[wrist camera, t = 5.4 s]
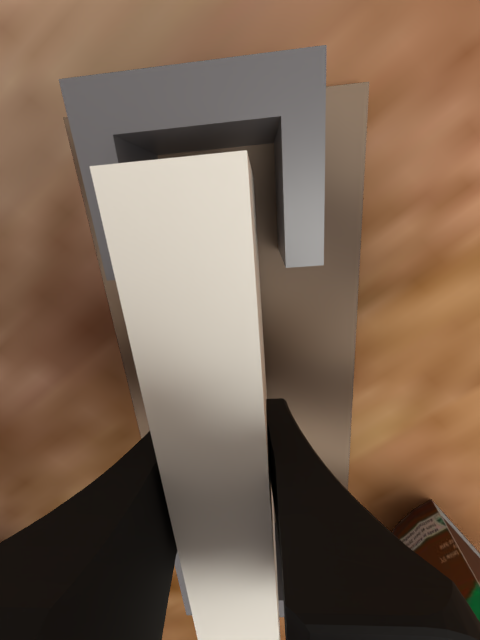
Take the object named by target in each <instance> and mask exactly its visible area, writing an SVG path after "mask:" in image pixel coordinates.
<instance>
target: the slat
mask: <svg viewBox="0 0 480 640" xmlns="http://www.w3.org/2000/svg"><path fill="white" fill-rule="evenodd" d="M89 167H90V171H91V175H92V180H93V184H94V188H95V193H96V197H97V202H98V206H99V210H100V215H101V219H102V223H103V228H104V232H105V236H106V241H107V245H108V249H109V254H110V258H111V263H112V267H113V271H114V276H115V280H116V284H117V289H118V293H119V297H120V302H121V306H122V311H123V315H124V319H125V324H126V328H127V332H128V337H129V341H130V345H131V350H132V354H133V359H134V363H135V367H136V372H137V376H138V380H139V385H140V389H141V393H142V398H143V402H144V406H145V411H146V415H147V420H148V424H149V428H150V433H151V437H152V441H153V446H154V450H155V454H156V459H157V463H158V468H159V472H160V476H161V481H162V485H163V489H164V494H165V498H166V502H167V507H168V511H169V515H170V520H171V524H172V529H173V533H174V537H175V542H176V546H177V550H178V555H179V559H180V563H181V568H182V572H183V577H184V581H185V585H186V590H187V594H188V598H189V603H190V607H191V611H192V616H193V620H194V625H195V629H196V633H197V638H198V640H280V623H279V602H278V582H277V561H276V541H275V520H274V504H273V495H272V488H271V478H270V462H269V447H268V431H267V415H266V399H267V390H266V374H265V358H264V341H263V325H262V309H261V293H260V276H259V260H258V244H257V227H256V211H255V195H254V179H253V174H252V169H251V165H250V161H249V157H248V153H247V150H244V151H234V152H224V153H214V154H205V155H195V156H185V157H175V158H165V159H156V160H146V161H136V162H126V163H117V164H107V165H97V166H89Z"/></svg>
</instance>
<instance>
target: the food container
mask: <svg viewBox="0 0 480 640" xmlns="http://www.w3.org/2000/svg"><path fill="white" fill-rule="evenodd" d="M392 533H393V534H394V535H395V536H396V537H397V538H398V539H400V540H401V541H402V542H403V543H404V544H405V545H407V546H408V547H409V548H410V549H411V550H413V551H414V552H415V553H417V554H418V555H419V556H420V557H422V558H423V559H424V560H426V561H427V562H428V563H430V564H431V565H432V566H434V567H435V568H436V569H438V570H439V571H440V572H441V573H443V574H444V575H445V576H447V577H448V578H449V579H451V580H452V581H453V582H454V583H455V585H456V586H457V588H458V589H459V591H460V592H461V594H462V595H463V597H464V598H465V600H466V601H467V603H468V604H469V606H470V607H471V609H472V610H473V612H474V614H475V615H476V617H477V618H478V620H479V621H480V553H479V552H478V551H477V550H476V548H475V547H474V546H473V545H472V544H471V543H470V542H469V541H468V540H467V538H466V537H465V536H464V535H463V534H462V533H461V532H460V531H459V530H458V528H457V527H456V526H455V525H454V524H453V523H452V522H451V521H450V520H449V518H448V517H447V516H446V515H445V514H444V513H443V512H442V511H441V509H440V508H439V507H438V506H437V505H436V504H435V503H434V502H433V501H432V499H431V500H430V501H428V502H426V503H424V504H422V505H421V506H419V507H417V508H415V509H414V510H412V511H411V512H410V513H409V514H408V515H407V516H406V517H405V518H404V519H403V520H402V521H401V522H400V523H398V524H397V525H396V526H395V528H394V530H393V532H392Z"/></svg>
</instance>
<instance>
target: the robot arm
mask: <svg viewBox="0 0 480 640" xmlns="http://www.w3.org/2000/svg"><path fill="white" fill-rule="evenodd" d="M266 415H267V431H268V447H269V462H270V478H271V488H272V495H273V503H274V510H275V517H276V524H277V531H278V539H279V546H280V556H281V569H282V586H283V602H284V619H285V635H286V640H480V621H479V620H478V618H477V617H476V615H475V614H474V612H473V610H472V609H471V607H470V606H469V604H468V603H467V601H466V600H465V598H464V597H463V595H462V594H461V592H460V591H459V589H458V588H457V586H456V585H455V583H454V582H453V581H452V580H451V579H449V578H448V577H447V576H445V575H444V574H443V573H441V572H440V571H439V570H438V569H436V568H435V567H434V566H432V565H431V564H430V563H428V562H427V561H426V560H424V559H423V558H422V557H420V556H419V555H418V554H417V553H415V552H414V551H413V550H411V549H410V548H409V547H408V546H407V545H405V544H404V543H403V542H402V541H401V540H400V539H398V538H397V537H396V536H395V535H394V534H393V533H391V532H390V531H389V530H388V529H387V528H386V527H385V526H383V525H382V524H381V523H380V522H379V521H378V520H377V519H376V518H375V517H374V516H373V515H372V514H371V513H370V512H369V511H368V510H367V509H366V508H364V507H363V506H362V505H361V504H360V503H359V502H358V501H357V500H356V499H355V498H354V497H353V496H352V495H351V494H350V492H349V491H348V490H347V489H346V488H345V487H344V486H343V485H342V484H341V483H340V482H339V480H338V479H337V478H336V477H335V476H334V475H333V474H332V472H331V471H330V470H329V469H328V468H327V466H326V465H325V464H324V463H323V461H322V460H321V459H320V457H319V456H318V455H317V453H316V452H315V451H314V449H313V448H312V446H311V445H310V443H309V442H308V440H307V439H306V437H305V436H304V434H303V433H302V431H301V430H300V428H299V426H298V425H297V423H296V421H295V419H294V417H293V416H292V414H291V412H290V409H289V407H288V405H287V402H286V400H284V399H283V398H277V399H266ZM176 554H177V546H176V542H175V537H174V533H173V529H172V524H171V520H170V515H169V511H168V507H167V502H166V498H165V494H164V489H163V485H162V481H161V476H160V472H159V468H158V463H157V459H156V454H155V450H154V446H153V441H152V437H151V433H150V431H149V432H148V433H147V434H146V435H145V436H144V437H143V438H142V439H141V440H140V441H139V442H138V443H137V444H136V445H135V446H134V447H133V448H132V449H131V450H129V451H128V452H127V453H126V454H125V455H124V456H123V457H122V458H121V459H120V460H119V461H118V462H116V463H115V464H114V465H113V466H112V467H111V468H109V469H108V470H107V471H106V472H105V473H103V474H102V475H101V476H100V477H98V478H97V479H96V480H95V481H93V482H92V483H91V484H90V485H88V486H87V487H86V488H84V489H83V490H82V491H80V492H79V493H77V494H76V495H74V496H73V497H72V498H70V499H69V500H67V501H66V502H64V503H63V504H61V505H60V506H59V507H57V508H56V509H54V510H53V511H51V512H50V513H48V514H47V515H45V516H44V517H42V518H41V519H39V520H37V521H36V522H34V523H33V524H31V525H30V526H28V527H26V528H25V529H23V530H21V531H20V532H18V533H16V534H15V535H13V536H11V537H10V538H8V539H6V540H4V541H3V542H1V543H0V640H162V634H163V628H164V621H165V615H166V609H167V603H168V597H169V592H170V586H171V581H172V575H173V569H174V564H175V559H176Z"/></svg>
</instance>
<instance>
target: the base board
mask: <svg viewBox="0 0 480 640" xmlns="http://www.w3.org/2000/svg"><path fill="white" fill-rule="evenodd" d="M368 95H369V82H363V83H354V84H346V85H337V86H329V87H326V121H325V205H324V265H321V266H306V267H292V268H286V267H285V265H284V262H283V260H282V257H281V255H280V252H279V250H278V232H277V206H276V181H275V155H274V143H270V144H260V145H250V146H241V147H231V148H221V149H212V150H202V151H193V152H183V153H173V154H164V155H157V156H158V159H165V158H175V157H185V156H195V155H205V154H214V153H224V152H234V151H244V150H247V153H248V157H249V161H250V165H251V169H252V174H253V179H254V195H255V211H256V227H257V244H258V260H259V276H260V293H261V309H262V325H263V341H264V358H265V374H266V390H267V399H277V398H283V399H284V400H286V402H287V405H288V407H289V409H290V412H291V414H292V416H293V417H294V419H295V421H296V423H297V425H298V426H299V428H300V430H301V431H302V433H303V434H304V436H305V437H306V439H307V440H308V442H309V443H310V445H311V446H312V448H313V449H314V451H315V452H316V453H317V455H318V456H319V457H320V459H321V460H322V461H323V463H324V464H325V465H326V466H327V468H328V469H329V470H330V471H331V472H332V474H333V475H334V476H335V477H336V478H337V479H338V480H339V482H340V483H341V484H342V485H343V486H344V487H345V488H346V489H347V490H348V475H349V456H350V437H351V418H352V399H353V380H354V361H355V342H356V323H357V304H358V285H359V266H360V247H361V228H362V209H363V190H364V171H365V152H366V133H367V114H368ZM63 119H64V123H65V127H66V131H67V135H68V139H69V143H70V147H71V151H72V156H73V160H74V164H75V168H76V172H77V176H78V180H79V184H80V188H81V193H82V197H83V201H84V205H85V209H86V213H87V217H88V221H89V225H90V230H91V234H92V238H93V242H94V246H95V250H96V254H97V258H98V262H99V266H100V271H101V275H102V279H103V283H104V287H105V291H106V295H107V299H108V303H109V308H110V312H111V316H112V320H113V324H114V328H115V332H116V336H117V340H118V345H119V349H120V353H121V357H122V361H123V365H124V369H125V373H126V377H127V382H128V386H129V390H130V394H131V398H132V402H133V406H134V410H135V414H136V418H137V423H138V427H139V431H140V435H141V439H142V438H143V437H144V436H145V435H146V434H147V433H148V432H149V431H150V428H149V424H148V420H147V415H146V411H145V406H144V402H143V398H142V393H141V389H140V385H139V380H138V376H137V372H136V367H135V363H134V359H133V354H132V350H131V345H130V341H129V337H128V332H127V328H126V324H125V319H124V315H123V311H122V306H121V302H120V297H119V293H118V289H117V284H116V280H109V281H107V279H106V275H105V271H104V267H103V263H102V258H101V254H100V250H99V246H98V242H97V237H96V233H95V229H94V225H93V221H92V217H91V212H90V208H89V204H88V200H87V196H86V191H85V187H84V183H83V179H82V175H81V171H80V166H79V162H78V158H77V154H76V150H75V145H74V141H73V137H72V133H71V129H70V125H69V120H68V117H64V118H63ZM273 504H274V503H273ZM274 520H275V523H276V517H275V510H274Z"/></svg>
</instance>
